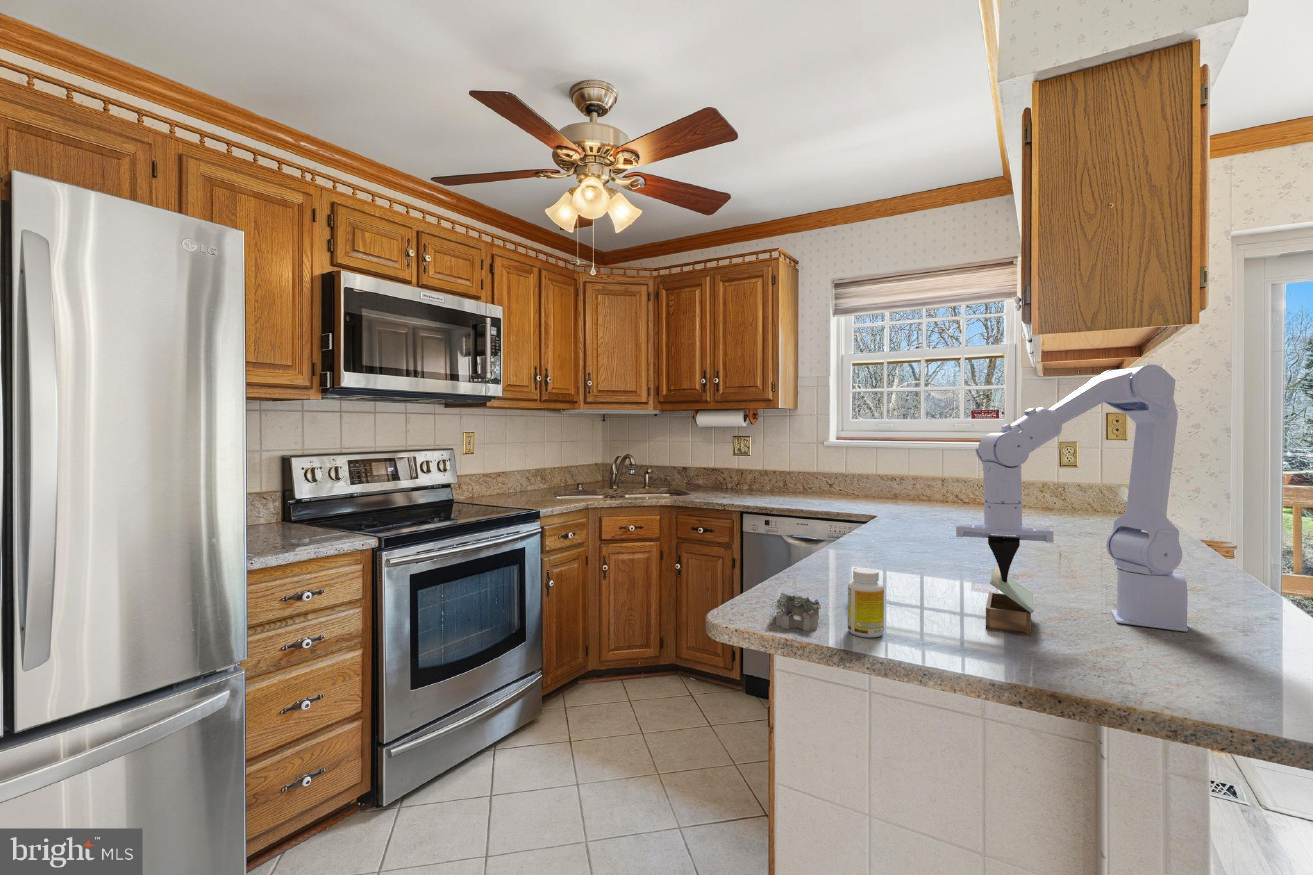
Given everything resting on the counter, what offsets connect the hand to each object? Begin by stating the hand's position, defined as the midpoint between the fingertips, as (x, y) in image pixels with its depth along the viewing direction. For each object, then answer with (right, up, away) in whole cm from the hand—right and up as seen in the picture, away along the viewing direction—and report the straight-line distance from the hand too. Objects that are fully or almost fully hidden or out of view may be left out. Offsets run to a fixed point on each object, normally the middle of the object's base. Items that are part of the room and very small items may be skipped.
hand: (1004, 581), depth 107 cm
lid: (+1, -1, -1) cm, 2 cm away
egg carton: (-35, -8, +1) cm, 36 cm away
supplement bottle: (-26, -7, -6) cm, 27 cm away
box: (+1, -7, 0) cm, 7 cm away
